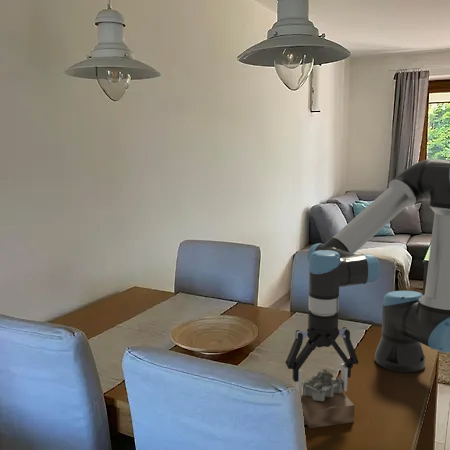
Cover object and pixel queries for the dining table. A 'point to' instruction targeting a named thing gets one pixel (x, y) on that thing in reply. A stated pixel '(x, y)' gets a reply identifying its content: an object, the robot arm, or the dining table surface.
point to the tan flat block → (327, 410)
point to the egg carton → (322, 385)
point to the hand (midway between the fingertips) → (321, 390)
